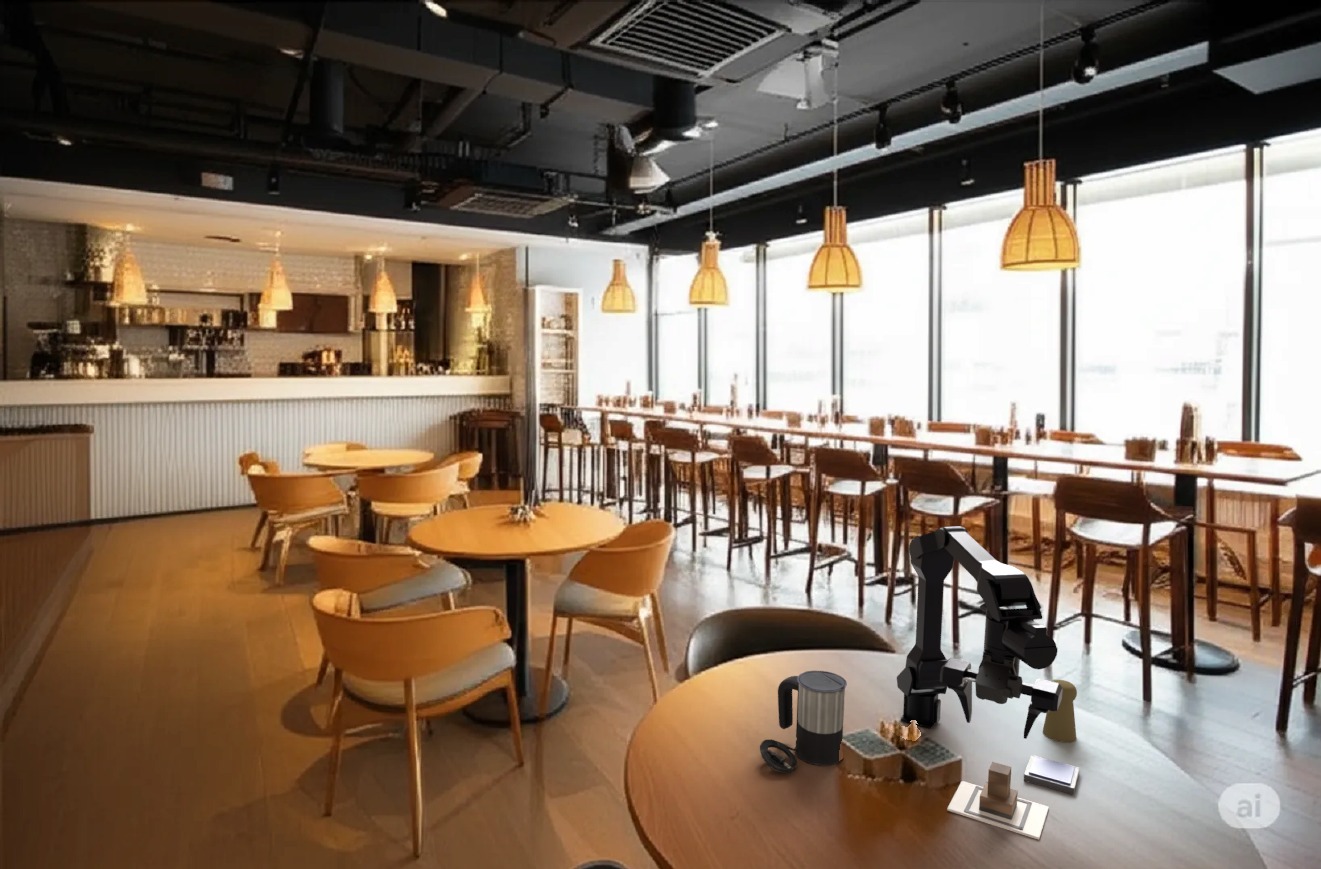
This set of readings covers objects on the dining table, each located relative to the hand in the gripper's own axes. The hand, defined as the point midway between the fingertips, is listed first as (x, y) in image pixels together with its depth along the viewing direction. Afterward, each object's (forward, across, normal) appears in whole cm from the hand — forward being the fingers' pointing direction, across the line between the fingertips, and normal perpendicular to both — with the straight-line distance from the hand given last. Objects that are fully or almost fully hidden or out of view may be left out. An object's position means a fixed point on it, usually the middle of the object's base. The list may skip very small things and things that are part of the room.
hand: (996, 729), depth 135 cm
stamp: (+11, +2, -6) cm, 12 cm away
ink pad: (+12, +8, +11) cm, 17 cm away
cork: (+12, +7, +29) cm, 32 cm away
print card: (+11, +2, -5) cm, 13 cm away
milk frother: (+12, -32, -9) cm, 35 cm away
